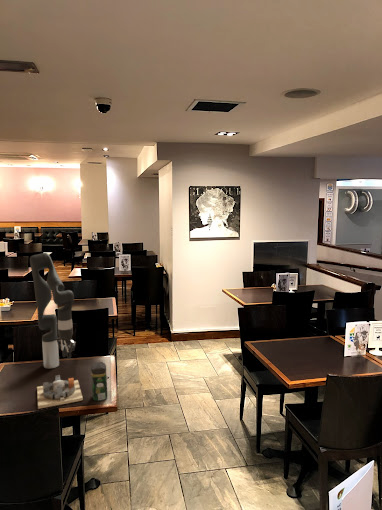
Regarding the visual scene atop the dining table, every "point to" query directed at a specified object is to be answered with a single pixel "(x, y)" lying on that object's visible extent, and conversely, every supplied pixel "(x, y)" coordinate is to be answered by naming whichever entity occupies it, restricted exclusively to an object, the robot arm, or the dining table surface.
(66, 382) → the ring nut
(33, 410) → the dining table surface
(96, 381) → the coffee jar
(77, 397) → the base plate
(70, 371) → the dining table surface
